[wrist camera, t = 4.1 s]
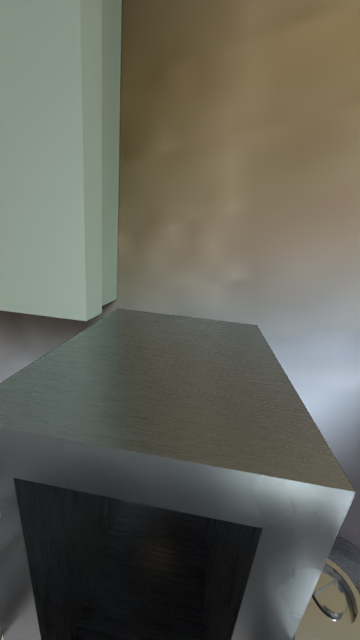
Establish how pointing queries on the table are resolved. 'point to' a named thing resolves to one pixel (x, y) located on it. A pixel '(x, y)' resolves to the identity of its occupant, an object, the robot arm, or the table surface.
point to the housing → (161, 487)
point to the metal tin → (347, 559)
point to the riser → (59, 156)
